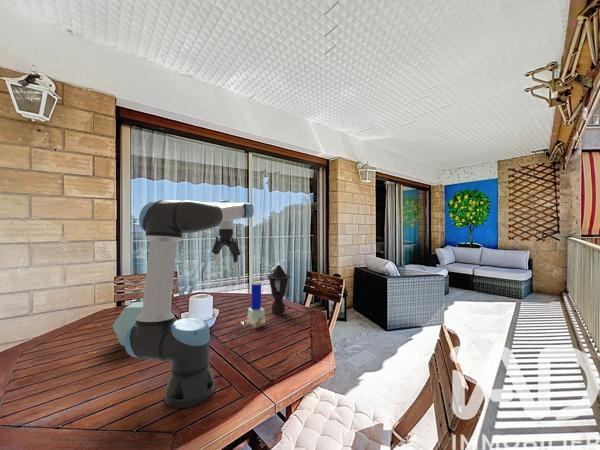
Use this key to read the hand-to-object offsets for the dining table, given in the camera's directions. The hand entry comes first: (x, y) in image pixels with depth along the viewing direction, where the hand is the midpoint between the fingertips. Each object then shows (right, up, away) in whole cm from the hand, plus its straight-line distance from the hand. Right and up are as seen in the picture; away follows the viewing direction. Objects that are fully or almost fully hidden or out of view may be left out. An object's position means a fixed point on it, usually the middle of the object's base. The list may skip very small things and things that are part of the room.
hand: (225, 266), depth 141 cm
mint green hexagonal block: (-34, -32, -21) cm, 51 cm away
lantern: (+28, -32, +18) cm, 46 cm away
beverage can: (+17, -24, +1) cm, 29 cm away
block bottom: (+17, -32, +1) cm, 36 cm away
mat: (+17, -32, +1) cm, 36 cm away
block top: (+17, -28, +1) cm, 32 cm away
